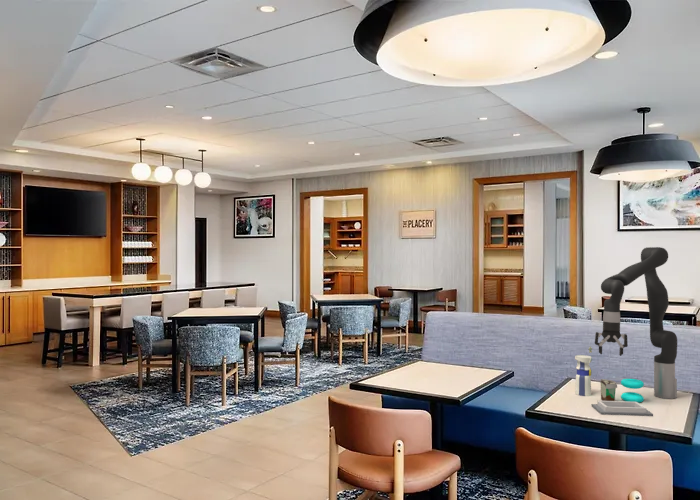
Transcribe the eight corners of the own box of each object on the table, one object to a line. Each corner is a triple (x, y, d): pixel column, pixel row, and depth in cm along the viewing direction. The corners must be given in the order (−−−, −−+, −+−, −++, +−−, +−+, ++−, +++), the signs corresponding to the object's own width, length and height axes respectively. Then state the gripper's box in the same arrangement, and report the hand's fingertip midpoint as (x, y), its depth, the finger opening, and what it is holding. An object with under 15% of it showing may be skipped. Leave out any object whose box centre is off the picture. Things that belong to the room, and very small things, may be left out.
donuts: (648, 381, 275) (632, 383, 272) (648, 402, 275) (632, 404, 271) (632, 377, 284) (616, 378, 281) (632, 397, 284) (616, 399, 281)
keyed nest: (640, 407, 265) (640, 401, 265) (653, 416, 251) (653, 409, 251) (591, 406, 267) (591, 399, 267) (601, 414, 254) (601, 407, 254)
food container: (620, 406, 267) (620, 384, 268) (606, 405, 269) (606, 384, 269) (613, 399, 280) (613, 379, 280) (600, 399, 281) (600, 378, 281)
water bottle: (593, 393, 291) (593, 344, 292) (590, 397, 284) (590, 347, 284) (576, 391, 296) (576, 343, 296) (573, 394, 289) (573, 345, 289)
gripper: (626, 321, 275) (625, 355, 275) (594, 319, 280) (593, 352, 279) (629, 322, 268) (628, 357, 268) (596, 320, 272) (595, 354, 272)
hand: (610, 354), depth 273 cm, fingers open, 8 cm apart
